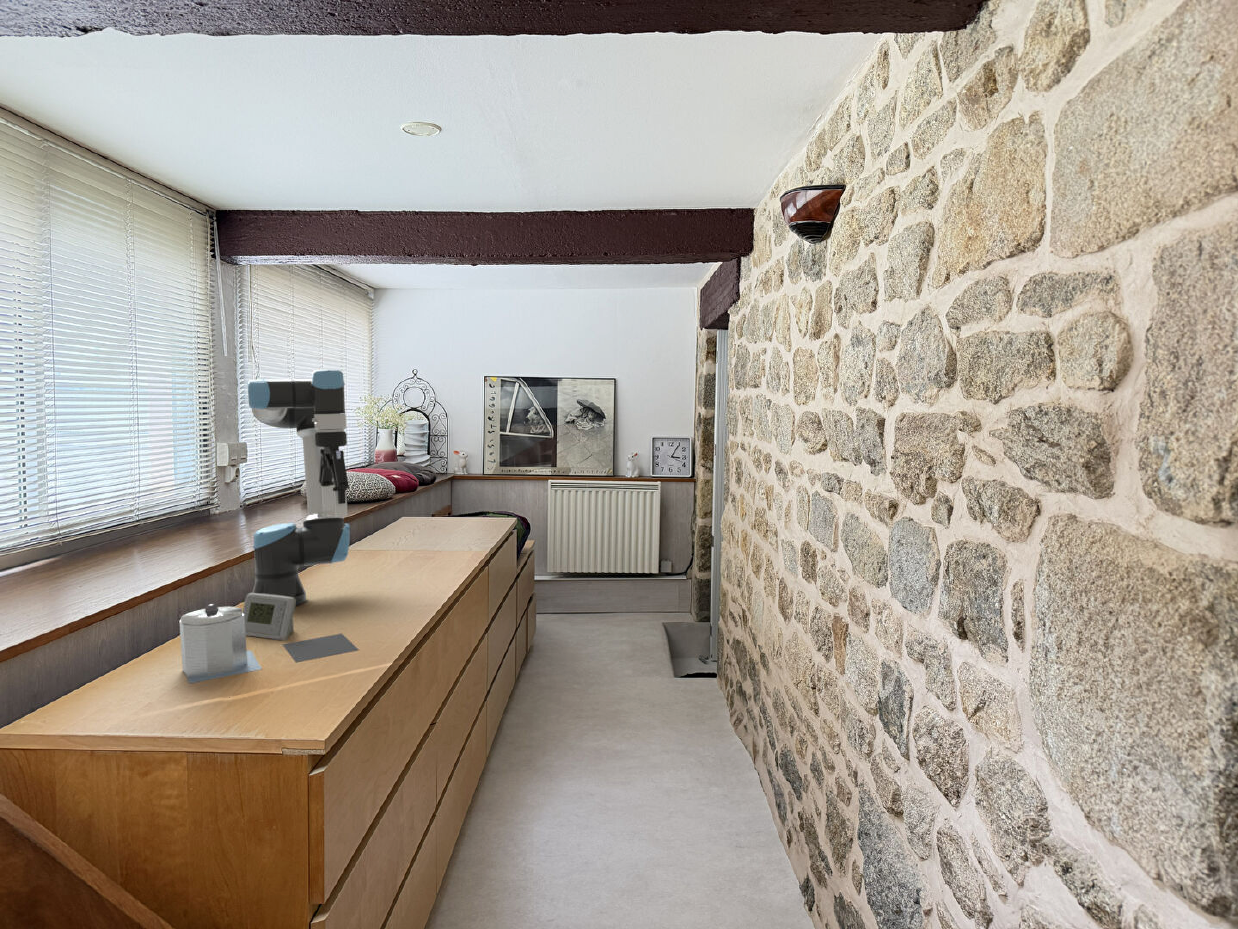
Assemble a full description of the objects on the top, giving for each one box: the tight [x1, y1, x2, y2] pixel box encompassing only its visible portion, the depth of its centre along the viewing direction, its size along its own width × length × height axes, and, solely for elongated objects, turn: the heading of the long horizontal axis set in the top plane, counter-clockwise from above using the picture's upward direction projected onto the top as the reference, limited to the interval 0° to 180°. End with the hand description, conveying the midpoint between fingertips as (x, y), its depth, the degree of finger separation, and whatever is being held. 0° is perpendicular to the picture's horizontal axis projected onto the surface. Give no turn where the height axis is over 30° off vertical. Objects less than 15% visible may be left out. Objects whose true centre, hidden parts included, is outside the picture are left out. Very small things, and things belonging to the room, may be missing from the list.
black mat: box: [282, 633, 360, 663], centre depth 180 cm, size 16×14×1 cm
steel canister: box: [178, 603, 248, 678], centre depth 167 cm, size 12×12×14 cm
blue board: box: [187, 649, 263, 684], centre depth 168 cm, size 16×14×1 cm
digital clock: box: [242, 592, 297, 641], centre depth 191 cm, size 16×9×11 cm, turn 56°
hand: (334, 513), depth 192 cm, fingers open, 13 cm apart
